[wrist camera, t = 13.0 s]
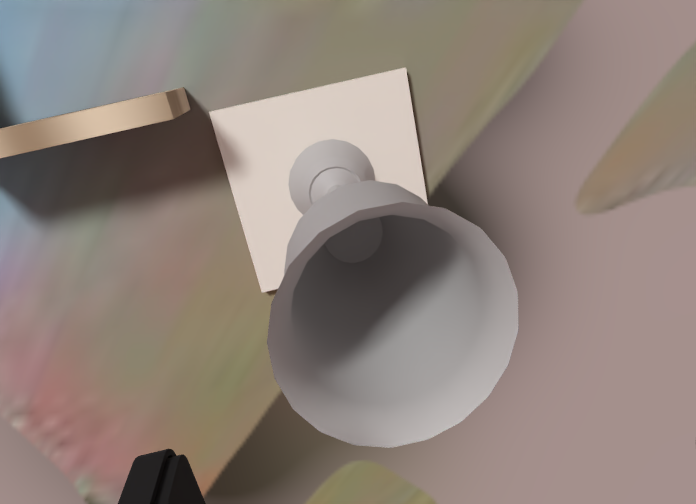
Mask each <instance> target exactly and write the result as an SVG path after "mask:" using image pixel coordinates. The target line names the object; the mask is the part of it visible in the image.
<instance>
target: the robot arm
mask: <svg viewBox="0 0 696 504" xmlns="http://www.w3.org/2000/svg"><path fill="white" fill-rule="evenodd" d="M118 504H205V501H204V499H203V496H202V494H201V491H200V489H199V486H198V484H197V481H196V479H195V477H194V474H193V472H192V469H191V467H190V464H189V462H188V460H187V458H186V456H185V455H178V456H176V454H175V452H174V451H173V450H172V449H166V450H162V451H158V452H154V453H149V454H145V455H141V456H138V457H137V458H135V460H134V462H133V464H132V467H131V470H130V472H129V475H128V478H127V480H126V483H125V486H124V489H123V491H122V494H121V497H120V499H119V502H118Z"/></svg>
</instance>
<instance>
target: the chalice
mask: <svg viewBox="0 0 696 504" xmlns="http://www.w3.org/2000/svg"><path fill="white" fill-rule="evenodd" d="M288 185H289V190H290V196H291V199H292V201H293V202H294V204H295V206H296V208H297V210H298V211H300V212H301V213H302V214H303V216H302V217H301V218H300V219H299V221H298V223H297V225H296V227H295V230H294V232H293V234H292V236H291V238H290V240H289V243H288V245H287V253H286V261H285V269H284V277H283V279H282V282H281V284H280V286H279V288H278V290H277V292H276V295H275V297H274V299H273V301H272V304H271V312H270V321H269V329H268V338H267V345H268V349H269V354H270V359H271V363H272V368H273V373H274V377H275V380H276V381H277V383H278V385H279V386H280V388H281V390H282V391H283V393H284V394H285V396H286V398H287V400H288V401H289V403H290V405H291V406H292V408H293V409H294V410H295V411H296V412H297V413H298V414H300V415H301V416H302V417H303V418H304V419H306V420H307V421H308V422H309V423H310V424H312V425H313V426H314V427H315V428H316V429H318V430H319V431H320V432H322V433H325V434H327V435H330V436H332V437H335V438H337V439H340V440H342V441H345V442H348V443H350V444H353V445H361V446H375V447H390V448H391V447H396V446H401V445H405V444H410V443H414V442H419V441H423V440H428V439H430V438H432V437H433V436H435V435H437V434H439V433H441V432H443V431H445V430H446V429H449V428H450V427H452V426H454V425H456V424H458V423H460V422H462V421H463V420H464V419H465V418H466V417H467V416H468V415H469V414H470V413H471V412H472V411H473V410H474V409H476V408H477V407H478V406H479V405H480V404H481V403H482V402H483V401H484V400H485V399H486V398H487V397H488V396H489V395H490V393H491V392H492V390H493V389H494V387H495V385H496V384H497V382H498V380H499V379H500V377H501V376H502V374H503V372H504V371H505V369H506V368H507V366H508V364H509V361H510V357H511V354H512V350H513V347H514V343H515V340H516V336H517V333H518V292H517V289H516V286H515V283H514V281H513V278H512V275H511V272H510V269H509V267H508V264H507V261H506V258H505V257H504V256H503V254H502V253H501V252H500V251H499V250H498V248H497V247H496V246H495V245H494V244H493V242H492V241H491V240H490V239H489V238H488V236H487V235H486V234H485V233H484V232H483V230H482V229H481V228H479V227H478V226H476V225H474V224H472V223H470V222H469V221H467V220H465V219H463V218H461V217H460V216H458V215H456V214H455V213H453V212H451V211H449V210H447V209H445V208H440V207H433V206H429V205H428V204H427V203H426V202H425V201H424V200H423V199H422V198H421V197H419V196H417V195H415V194H414V193H412V192H410V191H408V190H406V189H405V188H403V187H401V186H399V185H397V184H392V183H385V182H379V181H375V176H374V169H373V167H372V165H371V163H370V161H369V159H368V157H367V156H366V155H365V154H364V153H363V152H362V151H361V150H360V149H359V148H358V147H356V146H354V145H352V144H350V143H349V142H347V141H341V140H335V139H330V140H324V141H318V142H317V143H315V144H313V145H311V146H309V147H307V148H306V149H305V150H304V151H303V152H302V153H301V154H300V155H299V156H298V157H297V158H296V160H295V162H294V164H293V166H292V168H291V170H290V176H289V184H288Z"/></svg>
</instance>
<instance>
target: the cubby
mask: <svg viewBox="0 0 696 504" xmlns="http://www.w3.org/2000/svg"><path fill="white" fill-rule="evenodd" d="M189 110H191V109H190V106H189V102H188V99H187V96H186V93H185V89H184V87H183V88H179V89H174V90H170V91H165V92H161V93H156V94H152V95H147V96H143V97H138V98H134V99H130V100H125V101H121V102H116V103H112V104H107V105H103V106H98V107H94V108H89V109H85V110H80V111H76V112H71V113H67V114H63V115H58V116H54V117H49V118H45V119H40V120H36V121H31V122H27V123H22V124H18V125H13V126H9V127H4V128H0V158H4V157H8V156H13V155H17V154H22V153H26V152H30V151H35V150H39V149H44V148H48V147H53V146H57V145H61V144H66V143H70V142H75V141H79V140H83V139H88V138H92V137H97V136H101V135H106V134H110V133H114V132H119V131H123V130H128V129H132V128H137V127H141V126H145V125H150V124H154V123H159V122H163V121H168V120H172V119H175V118H177V117H178V116H180V115H182V114H184V113H186V112H187V111H189Z"/></svg>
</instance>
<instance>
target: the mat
mask: <svg viewBox="0 0 696 504" xmlns="http://www.w3.org/2000/svg"><path fill="white" fill-rule="evenodd" d="M209 114H210V118H211V121H212V124H213V128H214V131H215V135H216V138H217V141H218V145H219V148H220V152H221V155H222V158H223V162H224V165H225V169H226V172H227V175H228V179H229V182H230V186H231V189H232V192H233V196H234V199H235V203H236V206H237V209H238V213H239V216H240V220H241V223H242V226H243V230H244V233H245V237H246V240H247V243H248V247H249V250H250V254H251V257H252V260H253V264H254V267H255V270H256V274H257V277H258V281H259V284H260V287H261V291H262V293H263V292H267V291H271V290H275V289H278V288H279V286H280V284H281V282H282V279H283V277H284V269H285V261H286V253H287V245H288V243H289V240H290V238H291V236H292V234H293V232H294V230H295V227H296V225H297V223H298V221H299V219H300V218H301V217H302V216H303V214H302V213H301V212H300V211H298V210H297V208H296V206H295V204H294V202H293V201H292V199H291V196H290V190H289V185H288V184H289V176H290V170H291V168H292V166H293V164H294V162H295V160H296V158H297V157H298V156H299V155H300V154H301V153H302V152H303V151H304V150H305V149H306V148H307V147H309V146H311V145H313V144H315V143H317V142H318V141H324V140H330V139H335V140H341V141H347V142H349V143H350V144H352V145H354V146H356V147H358V148H359V149H360V150H361V151H362V152H363V153H364V154H365V155H366V156H367V157H368V159H369V161H370V163H371V165H372V167H373V169H374V176H375V181H379V182H385V183H392V184H397V185H399V186H401V187H403V188H405V189H406V190H408V191H410V192H412V193H414V194H415V195H417V196H419V197H421V198H422V199H423V200H424V201H425V202H426V203H427V196H426V190H425V184H424V177H423V171H422V165H421V159H420V153H419V146H418V140H417V134H416V128H415V121H414V115H413V109H412V103H411V96H410V90H409V84H408V78H407V71H406V68H404V67H403V68H399V69H395V70H390V71H386V72H381V73H377V74H372V75H368V76H364V77H359V78H355V79H350V80H346V81H341V82H337V83H333V84H328V85H324V86H319V87H315V88H311V89H306V90H302V91H297V92H293V93H288V94H284V95H280V96H275V97H271V98H266V99H262V100H257V101H253V102H249V103H244V104H240V105H235V106H231V107H227V108H222V109H218V110H213V111H210V112H209ZM427 204H428V203H427Z"/></svg>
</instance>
